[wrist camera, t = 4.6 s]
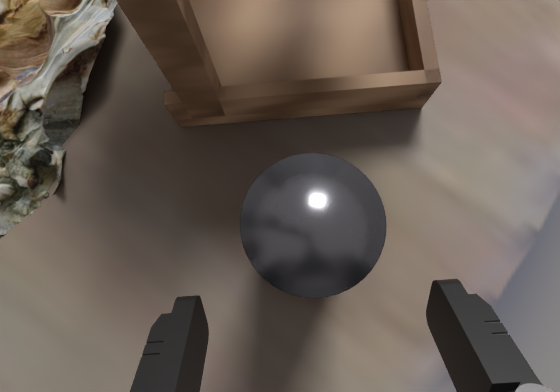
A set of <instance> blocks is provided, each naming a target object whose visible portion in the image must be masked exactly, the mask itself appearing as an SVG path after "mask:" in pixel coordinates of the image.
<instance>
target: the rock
mask: <svg viewBox="0 0 560 392" xmlns="http://www.w3.org/2000/svg"><path fill="white" fill-rule="evenodd" d="M117 3H118V2H117V1H116V0H0V235H5V234H7V233H8V232H9V231H10V230H11V229H12V228H13V227H14V226H15V225H16V224H17V223H19V222H22V220H23V218H24V216H26V215H28V214H29V213H30V212H31V213H30V215H31V214H34V213H33V211H32V210H33V209H34V208H38V207H40V201H41V200H42V199H43V198H46V197H47V196H48V195H49V193H48V191H47V190H48V189H49V187H50V186H51V184H52V182H53V180H54V179H55V178H57V179H58V183H60V181H61V170H62V158H63V157H64V155H65V152H66V150H64V149H62V148H61V146H62V144H63V143H64V142H65V141H66V139H67V138H68V137H69V136H70V135H71V134H72V133H73V131H74V130H75V129H76V128H77V127H78V125H79V124H80V116H81V108H82V101H83V92H84V91H85V89H86V86H87V82H88V78H89V74H90V72H91V69H92V67H93V64H94V61H95V59H96V57H97V55H98V53H99V51H100V49H101V46H102V44H103V42H104V40H105V38H106V37H105V29H106V25H107V24H108V23H109V21H110V20H111V19H112V17H113V16H114V13H113V10H114V8H115V7H116V5H117ZM56 189H57V188H56ZM53 194H54V193H53Z"/></svg>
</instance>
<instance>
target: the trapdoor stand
mask: <svg viewBox="0 0 560 392" xmlns="http://www.w3.org/2000/svg"><path fill="white" fill-rule="evenodd" d="M116 1H117V2H118V4H119V6H120V7H121V9H122V10H123V12H124V13H125V15H126V16H127V18H128V20H129V21H130V23H131V24H132V26H133V27H134V29H135V30H136V32H137V34H138V35H139V37H140V38H141V40H142V41H143V43H144V44H145V46H146V47H147V49H148V51H149V52H150V54H151V55H152V57H153V58H154V60H155V61H156V63H157V65H158V66H159V68H160V69H161V71H162V72H163V74H164V75H165V77H166V79H167V80H168V82H169V83H170V85H171V86H172V88H173V89H174V90H173V91H164V105H165V106H166V108H167V109H168V110H169V112H170V113H171V114H172V116H173V117H174V118H175V120H176V121H177V122H178V124H179V125H180V126H181V127H185V126H198V125H210V124H223V123H235V122H248V121H260V120H273V119H285V118H298V117H310V116H323V115H335V114H348V113H360V112H373V111H385V110H398V109H410V108H422V107H423V106H424V104H425V103H426V102H427V100H428V99H429V98H430V97H431V95H432V94H433V93H434V91H435V90H436V89H437V88H438V86H439V85H440V84H441V82H442V81H441V75H440V70H439V65H438V59H437V54H436V48H435V43H434V38H433V32H432V27H431V21H430V16H429V10H428V5H427V0H116Z"/></svg>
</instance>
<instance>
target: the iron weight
mask: <svg viewBox="0 0 560 392" xmlns="http://www.w3.org/2000/svg"><path fill="white" fill-rule="evenodd" d="M240 233H241V239H242V243H243V247H244V249H245V252H246V254H247V257H248V258H249V260H250V262H251V264H252V265H253V266H254V268H255V269H256V270H257V272H258V273H259V274H260V275H261V276H262V277H263V278H264V279H265V280H266V281H268V282H269V283H270V284H272V285H273V286H275V287H276V288H278V289H280V290H282V291H284V292H287V293H289V294H292V295H296V296H300V297H307V298H321V297H329V296H332V295H336V294H339V293H342V292H344V291H346V290H348V289H350V288H352V287H353V286H355V285H356V284H358V283H359V282H360V281H361V280H363V279H364V278H365V277H366V276H367V275H368V273H369V272H370V271H371V270H372V269H373V267H374V266H375V264H376V263H377V261H378V259H379V257H380V255H381V252H382V249H383V246H384V242H385V237H386V216H385V211H384V206H383V204H382V201H381V198H380V196H379V194H378V192H377V190H376V188H375V187H374V185H373V184H372V182H371V181H370V180H369V179H368V178H367V177H366V175H364V174H363V173H362V172H361V171H360V170H359V169H358V168H356V167H355V166H353V165H352V164H350V163H348V162H347V161H345V160H343V159H340V158H338V157H335V156H331V155H327V154H321V153H303V154H297V155H293V156H289V157H287V158H284V159H282V160H280V161H278V162H276V163H274V164H272V165H271V166H270V167H268V168H267V169H266V170H264V171H263V172H262V173H261V174H260V175H259V176H258V178H257V179H256V180H255V181H254V183H253V184H252V185H251V187H250V189H249V190H248V192H247V195H246V197H245V199H244V202H243V206H242V209H241V216H240Z"/></svg>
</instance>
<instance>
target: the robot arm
mask: <svg viewBox="0 0 560 392" xmlns="http://www.w3.org/2000/svg"><path fill="white" fill-rule="evenodd" d="M426 318H427V323H428V326H429V329H430V331H431V334H432V336H433V338H434V341H435V343H436V345H437V347H438V350H439V352H440V354H441V357H442V359H443V361H444V363H445V366H446V368H447V370H448V373H449V375H450V377H451V379H452V382H453V384H454V386H455V388H456V391H457V392H555V391H553V390H551V389H549V388H548V387H545V386H543V385H542V384H541V382H540V381H539V379H538V378H537V377H536V375H535V374H534V372H533V370H532V369H531V367H530V366H529V364H528V363H527V361H526V360H525V358H524V357H523V355H522V354H521V352H520V350H519V349H518V347H517V346H516V344H515V343H514V341H513V340H512V338H511V336H510V335H508V333H507V330H506V329H505V327H504V326H503V324H502V323H500V320H499V318H498V316H497V315H496V313H495V312H494V310H493V309H492V307H491V306H490V305H489V304H488V303H487V302H485V301H484V300H483V299H482V298H481V297H479V296H478V295H477V294H468V293H467V292H466V290H465V289H464V287H463V285H462V284H461V282H460V281H459V280H458V279H448V280H434V281H433V282H432V286H431V290H430V295H429V300H428V304H427V309H426ZM208 336H209V330H208V323H207V319H206V315H205V312H204V308H203V305H202V301H201V298H200V296H199V295H198V296H183V297H177V298H176V300H175V303H174V306H173V310H172V313H168V314H161V315H160V317H159V318H158V319H157V321H156V322H155V323H154V324H153V326H152V327H151V330H150V333H149V336H148V339H147V344H146V345H145V348H144V351H143V356H142V357H141V360H140V363H139V366H138V369H137V372H136V375H135V378H134V381H133V384H132V387H131V390H130V392H200V386H201V380H202V375H203V369H204V363H205V357H206V351H207V345H208Z"/></svg>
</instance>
